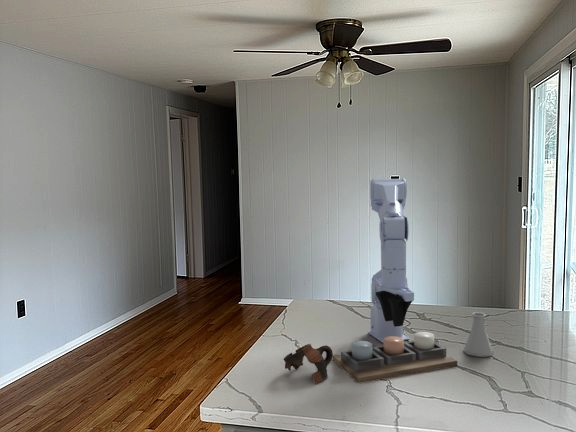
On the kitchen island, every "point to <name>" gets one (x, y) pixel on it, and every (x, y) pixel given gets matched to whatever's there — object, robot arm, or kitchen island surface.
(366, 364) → the three-slot key tray
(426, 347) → the cream rounded piece
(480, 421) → the kitchen island surface
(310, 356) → the brown animal figure
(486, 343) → the flask
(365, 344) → the pale blue dome
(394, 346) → the terracotta key
